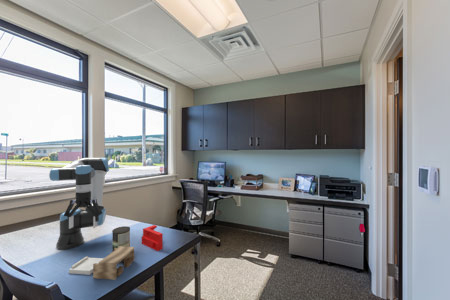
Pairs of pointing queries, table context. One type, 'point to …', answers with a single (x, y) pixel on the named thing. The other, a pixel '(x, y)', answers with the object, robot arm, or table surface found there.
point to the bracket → (152, 238)
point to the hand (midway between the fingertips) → (83, 227)
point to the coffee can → (121, 237)
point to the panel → (84, 266)
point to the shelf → (113, 263)
